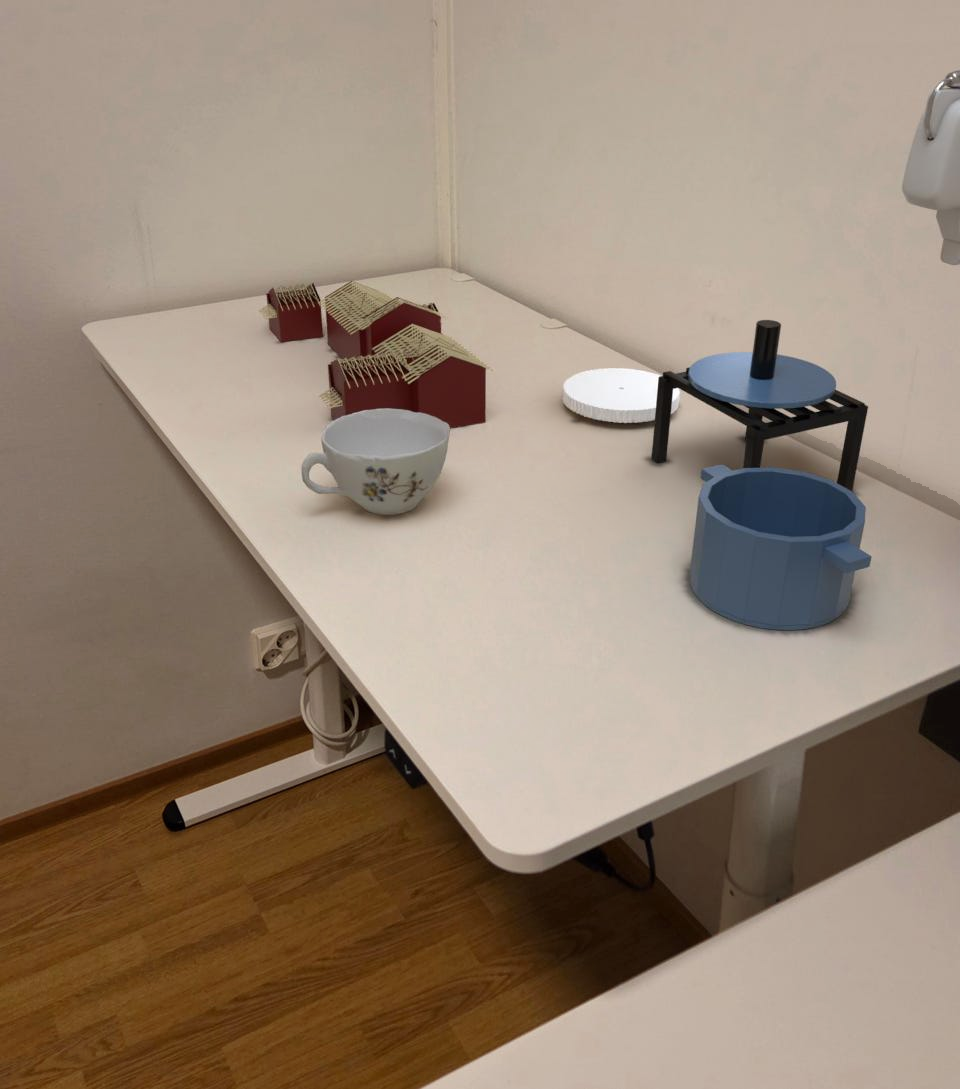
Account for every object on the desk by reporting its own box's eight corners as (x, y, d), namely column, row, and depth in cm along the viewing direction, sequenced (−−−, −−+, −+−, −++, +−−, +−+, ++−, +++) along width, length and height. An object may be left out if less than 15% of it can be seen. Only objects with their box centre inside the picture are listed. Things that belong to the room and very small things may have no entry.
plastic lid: (579, 435, 126) (580, 414, 125) (549, 391, 138) (550, 371, 137) (695, 426, 129) (697, 405, 128) (655, 383, 141) (657, 364, 140)
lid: (770, 354, 121) (778, 294, 118) (865, 399, 109) (878, 334, 106) (659, 375, 115) (665, 312, 112) (748, 424, 104) (757, 356, 100)
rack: (752, 436, 126) (764, 353, 121) (852, 493, 114) (869, 402, 109) (651, 459, 121) (658, 372, 116) (743, 521, 108) (756, 426, 103)
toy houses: (506, 418, 130) (508, 335, 125) (339, 446, 123) (334, 359, 118) (381, 312, 166) (379, 244, 161) (247, 329, 159) (239, 259, 154)
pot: (759, 525, 107) (771, 445, 103) (905, 622, 93) (926, 533, 88) (643, 556, 102) (650, 473, 98) (778, 663, 87) (793, 571, 83)
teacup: (423, 467, 119) (421, 397, 115) (471, 517, 109) (471, 442, 105) (287, 493, 113) (280, 421, 109) (324, 547, 103) (318, 470, 99)
